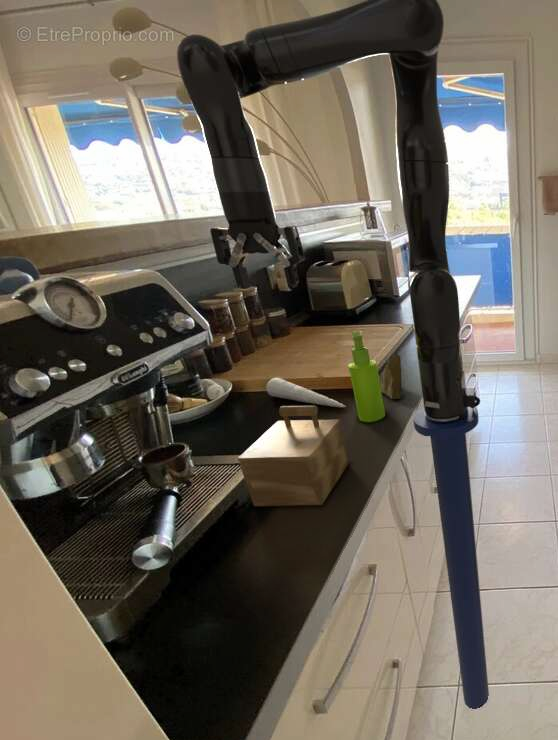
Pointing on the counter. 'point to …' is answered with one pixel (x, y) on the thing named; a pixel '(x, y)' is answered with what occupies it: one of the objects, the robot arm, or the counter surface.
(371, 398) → the soap dispenser
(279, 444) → the lid
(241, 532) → the counter surface
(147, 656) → the counter surface
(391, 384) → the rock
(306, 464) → the caddy
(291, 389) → the unicorn horn
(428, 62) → the robot arm
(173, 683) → the counter surface
